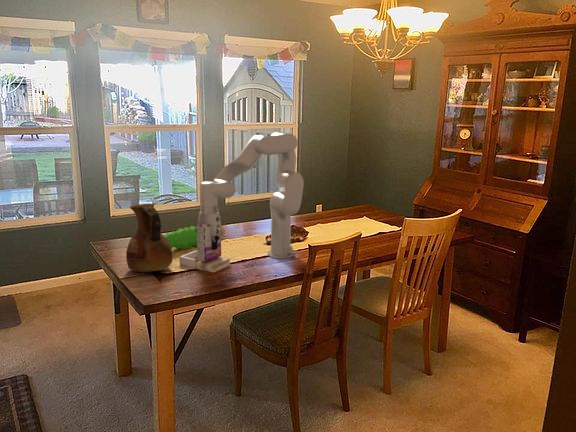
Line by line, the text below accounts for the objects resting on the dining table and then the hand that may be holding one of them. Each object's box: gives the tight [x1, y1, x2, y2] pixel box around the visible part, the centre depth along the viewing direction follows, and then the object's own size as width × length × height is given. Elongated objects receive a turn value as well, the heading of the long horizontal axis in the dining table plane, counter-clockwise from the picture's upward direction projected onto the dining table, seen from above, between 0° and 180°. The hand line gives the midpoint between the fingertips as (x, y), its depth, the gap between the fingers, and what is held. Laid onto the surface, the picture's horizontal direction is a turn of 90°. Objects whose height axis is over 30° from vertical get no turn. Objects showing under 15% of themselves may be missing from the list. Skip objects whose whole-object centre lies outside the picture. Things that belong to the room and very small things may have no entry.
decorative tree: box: [163, 225, 197, 250], centre depth 257 cm, size 11×12×30 cm
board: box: [195, 256, 231, 273], centre depth 232 cm, size 10×12×3 cm
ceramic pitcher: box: [125, 203, 173, 273], centre depth 224 cm, size 20×20×30 cm
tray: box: [178, 250, 198, 269], centre depth 237 cm, size 9×12×4 cm
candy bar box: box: [196, 224, 222, 262], centre depth 231 cm, size 11×5×16 cm, turn 147°
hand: (209, 248), depth 232 cm, fingers closed on candy bar box, 5 cm apart
